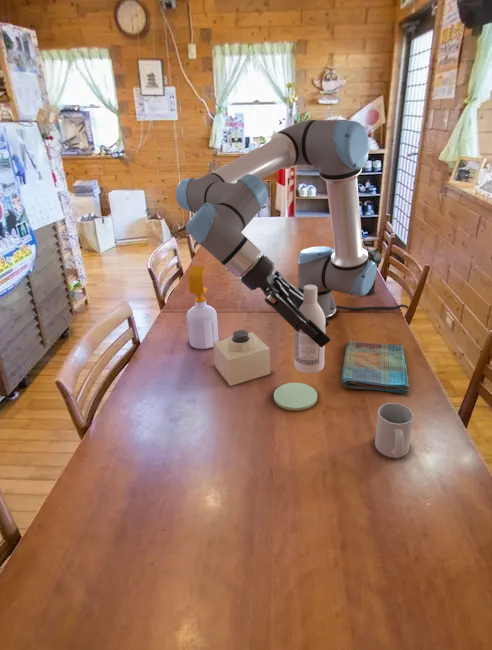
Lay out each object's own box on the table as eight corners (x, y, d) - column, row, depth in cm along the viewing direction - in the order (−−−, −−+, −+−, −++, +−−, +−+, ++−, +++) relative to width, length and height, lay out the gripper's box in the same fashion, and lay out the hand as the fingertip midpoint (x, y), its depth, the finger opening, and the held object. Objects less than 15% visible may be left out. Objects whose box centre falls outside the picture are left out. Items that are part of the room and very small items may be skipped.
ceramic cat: (379, 292, 176) (384, 242, 168) (370, 297, 172) (374, 246, 163) (338, 280, 189) (340, 233, 180) (328, 284, 184) (330, 236, 176)
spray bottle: (221, 336, 145) (215, 263, 135) (215, 350, 137) (208, 273, 127) (194, 335, 146) (186, 262, 136) (186, 349, 138) (177, 273, 128)
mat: (309, 382, 121) (310, 379, 120) (322, 406, 111) (323, 404, 111) (269, 388, 119) (269, 385, 118) (279, 413, 109) (279, 410, 109)
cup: (405, 436, 101) (409, 403, 97) (415, 468, 92) (420, 434, 88) (372, 435, 101) (375, 402, 97) (379, 468, 92) (383, 433, 88)
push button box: (253, 356, 134) (252, 325, 129) (270, 373, 125) (269, 341, 121) (215, 366, 129) (212, 335, 124) (230, 385, 120) (227, 353, 116)
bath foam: (306, 356, 110) (307, 278, 101) (329, 365, 106) (333, 285, 97) (288, 368, 105) (287, 288, 97) (312, 378, 101) (314, 295, 93)
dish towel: (340, 388, 118) (341, 380, 117) (345, 345, 139) (346, 338, 138) (408, 395, 115) (410, 386, 114) (403, 349, 136) (404, 342, 134)
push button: (244, 335, 125) (244, 328, 124) (250, 341, 122) (250, 334, 121) (231, 338, 123) (230, 332, 123) (236, 345, 120) (236, 338, 119)
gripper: (244, 262, 106) (313, 325, 112) (231, 295, 88) (313, 368, 94) (266, 240, 103) (335, 305, 109) (257, 270, 85) (340, 346, 91)
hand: (325, 334), depth 102 cm, fingers closed on bath foam, 7 cm apart
